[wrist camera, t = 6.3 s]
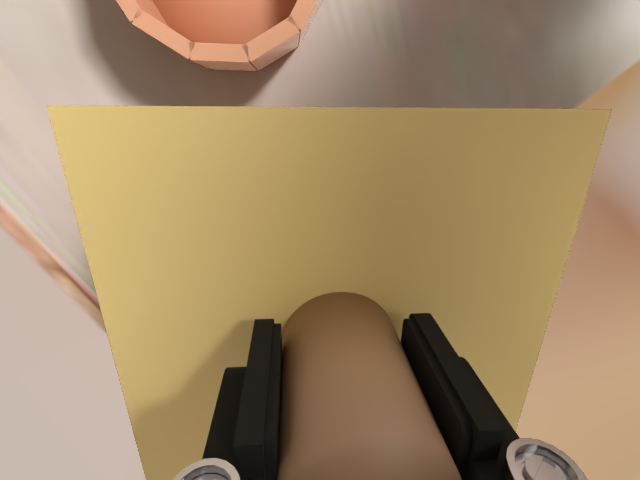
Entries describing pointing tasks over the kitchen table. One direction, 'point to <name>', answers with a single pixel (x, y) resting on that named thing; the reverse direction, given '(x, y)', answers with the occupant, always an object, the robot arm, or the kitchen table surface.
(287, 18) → the bowl
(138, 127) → the sheet
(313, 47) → the kitchen table surface
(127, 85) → the kitchen table surface
